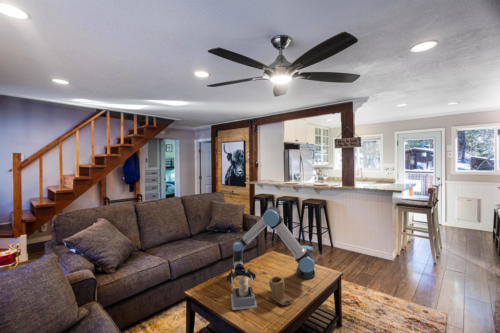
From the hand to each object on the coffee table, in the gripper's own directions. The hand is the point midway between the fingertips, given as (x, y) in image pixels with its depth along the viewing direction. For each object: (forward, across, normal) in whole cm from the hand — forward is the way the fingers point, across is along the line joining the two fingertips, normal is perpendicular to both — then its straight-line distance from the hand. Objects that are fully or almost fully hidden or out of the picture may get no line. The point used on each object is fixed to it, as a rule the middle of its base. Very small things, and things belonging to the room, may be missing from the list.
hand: (242, 283), depth 161 cm
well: (+2, 0, -11) cm, 11 cm away
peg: (+2, 0, -10) cm, 11 cm away
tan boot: (+5, -24, -11) cm, 27 cm away
